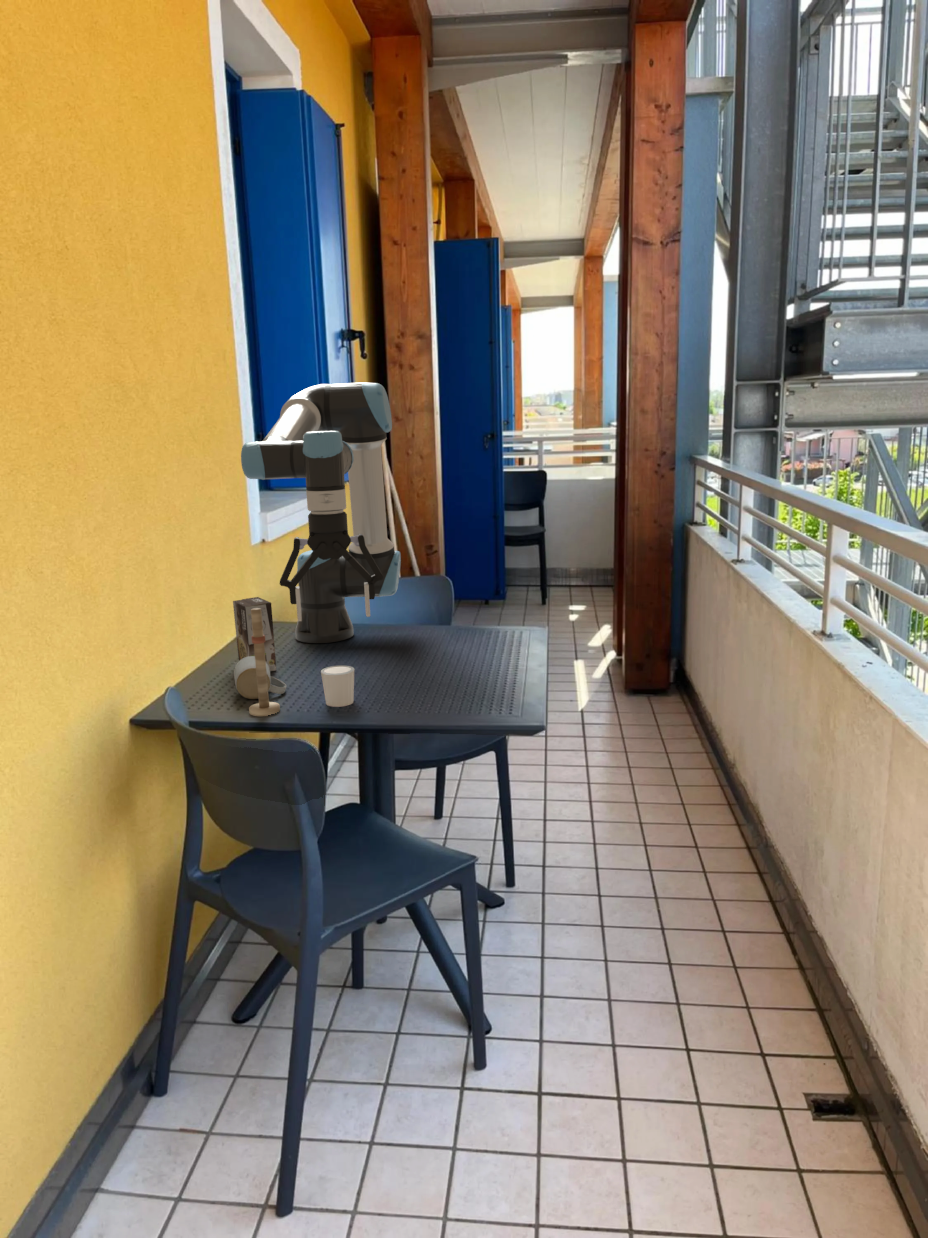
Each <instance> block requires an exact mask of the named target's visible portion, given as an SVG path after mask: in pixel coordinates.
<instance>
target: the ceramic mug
mask: <svg viewBox="0 0 928 1238" xmlns="http://www.w3.org/2000/svg"><path fill="white" fill-rule="evenodd" d="M266 671H267V683H268V693H273V694H277V695H282V694H285V693H286V689H287V684H286V683H285V682H284V681H283V680H281V679H279V678H276V677H275V676H271V671H270V668H269V666H268V664H267V663H266ZM233 677H234V685H235V689H236V690H237V692H238V693H239V695H240V696H242V697H243V698H245V699H249V700H257V699H258V700H259V698H258V687H257V675H256V664H255V656H248V657H245V658H243V659H241V660H240V661H239V660H238V662H237V663H236V664H235V666H234V669H233Z"/></svg>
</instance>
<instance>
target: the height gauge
mask: <svg viewBox="0 0 928 1238" xmlns="http://www.w3.org/2000/svg"><path fill="white" fill-rule="evenodd" d="M251 618H252V630H253V636H252V643H254V653H255V664H256V675H257V687H258V702H257V703H254V704H251V705H250V706H249V707H248V710H249V711H248V712H249V715H251V716H253V717H268V715H270V716H272V715H271V714H274V715H276V714H278V713H279V712H280V710H281V708H280V707H281V705H280V704H279V703H278V702H275V701H274V702H273V701H270V699H269V698H270V697H269V691H268V683H267V671H266V660H265V648H264V642H266V641H265V635H263V624H262V612H261V608H254V609H251ZM277 712H278V713H277ZM275 713H276V714H275Z"/></svg>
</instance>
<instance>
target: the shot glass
mask: <svg viewBox="0 0 928 1238" xmlns="http://www.w3.org/2000/svg"><path fill="white" fill-rule="evenodd" d="M320 675H321V680H322V686H323V692H324V699H325V704H326V705H327V706H328V707H334V708H338V707H346V706H349V705H352V704H354V695H355V693H354V692H355V689H354V688H355V668H354V667H353V666H351V665H332V666H327V667H325V668H322V669H321V670H320Z"/></svg>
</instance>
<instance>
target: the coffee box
mask: <svg viewBox="0 0 928 1238" xmlns="http://www.w3.org/2000/svg"><path fill="white" fill-rule="evenodd" d="M232 607H233V617H234V625H235V626H234V627H235V636H236V647H237V656H238V662H239V661H240V660H241V659H243V658H245V657H248V656H255V653H254V643H252V636H253V630H252V618H251V609H254V608H261V612H262V624H263V635H265V641H266V642H264V648H265V660H266V663H267V664H268V666H269V668H270V672H275V671H277V660H276V647H275V637H274V636H275V634H274V622H273V620H274V619H273V610H272V609H273V608H272V602H271V601H268V600H266V599H263V598H261V597H259V596H255V597H254V596H253V597H248V598H244V599H243V598H242V599H238V600H233V601H232Z"/></svg>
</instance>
